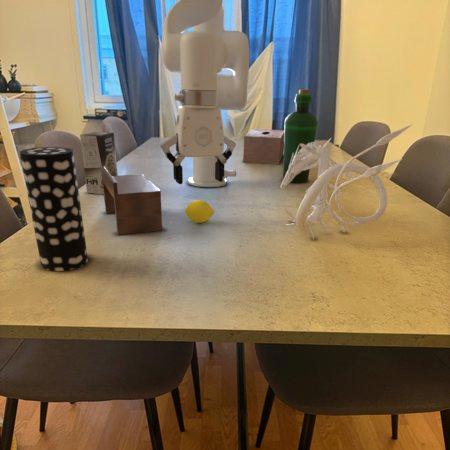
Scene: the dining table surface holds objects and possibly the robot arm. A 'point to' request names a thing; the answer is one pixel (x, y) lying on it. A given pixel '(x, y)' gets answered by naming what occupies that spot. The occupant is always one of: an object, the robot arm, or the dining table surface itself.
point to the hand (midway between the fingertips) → (199, 181)
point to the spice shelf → (132, 202)
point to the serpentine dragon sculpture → (320, 186)
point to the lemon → (199, 211)
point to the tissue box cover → (263, 146)
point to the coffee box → (98, 158)
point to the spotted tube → (55, 207)
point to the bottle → (299, 132)
